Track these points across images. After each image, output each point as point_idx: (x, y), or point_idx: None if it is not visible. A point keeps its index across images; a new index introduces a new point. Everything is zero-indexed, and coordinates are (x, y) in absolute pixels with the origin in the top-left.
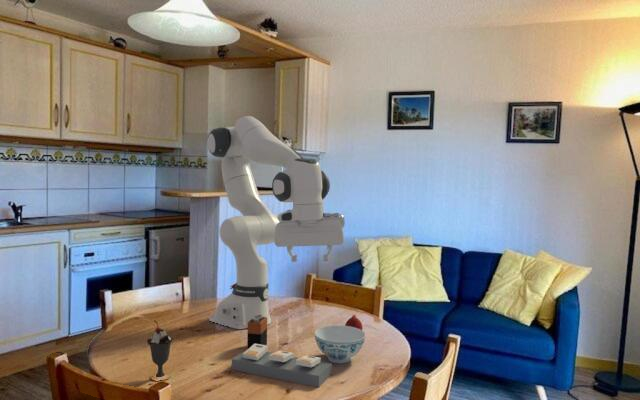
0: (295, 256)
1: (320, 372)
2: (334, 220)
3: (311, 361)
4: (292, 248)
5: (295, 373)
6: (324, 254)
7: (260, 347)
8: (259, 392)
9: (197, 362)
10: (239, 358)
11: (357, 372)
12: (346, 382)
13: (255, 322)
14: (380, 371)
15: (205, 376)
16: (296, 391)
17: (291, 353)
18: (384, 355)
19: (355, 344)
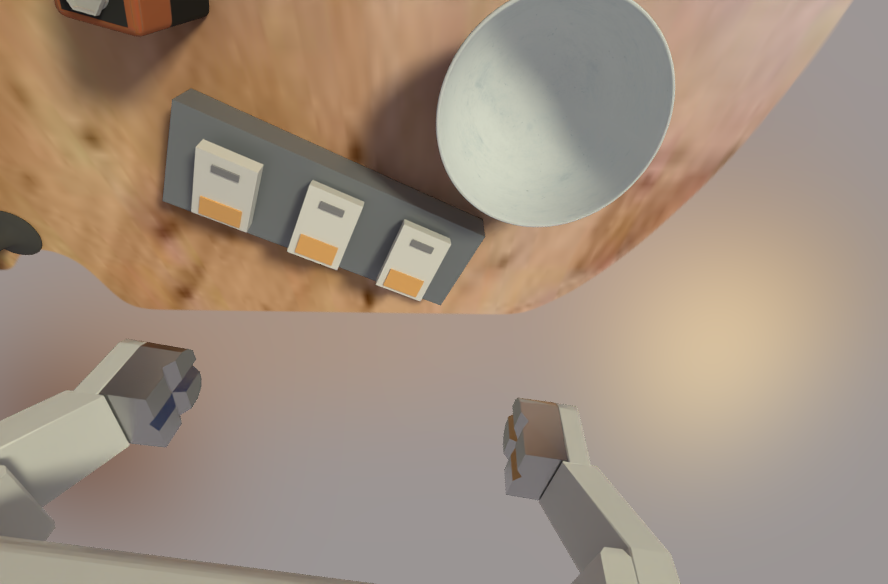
0: (163, 440)
1: (445, 288)
2: None
3: (420, 289)
4: (10, 493)
5: None
6: (528, 466)
7: (233, 181)
8: (305, 304)
9: (29, 123)
10: (185, 196)
11: None
12: (513, 263)
13: (104, 24)
14: (634, 201)
15: (130, 226)
16: (388, 301)
17: (354, 214)
18: (726, 55)
19: (586, 206)
